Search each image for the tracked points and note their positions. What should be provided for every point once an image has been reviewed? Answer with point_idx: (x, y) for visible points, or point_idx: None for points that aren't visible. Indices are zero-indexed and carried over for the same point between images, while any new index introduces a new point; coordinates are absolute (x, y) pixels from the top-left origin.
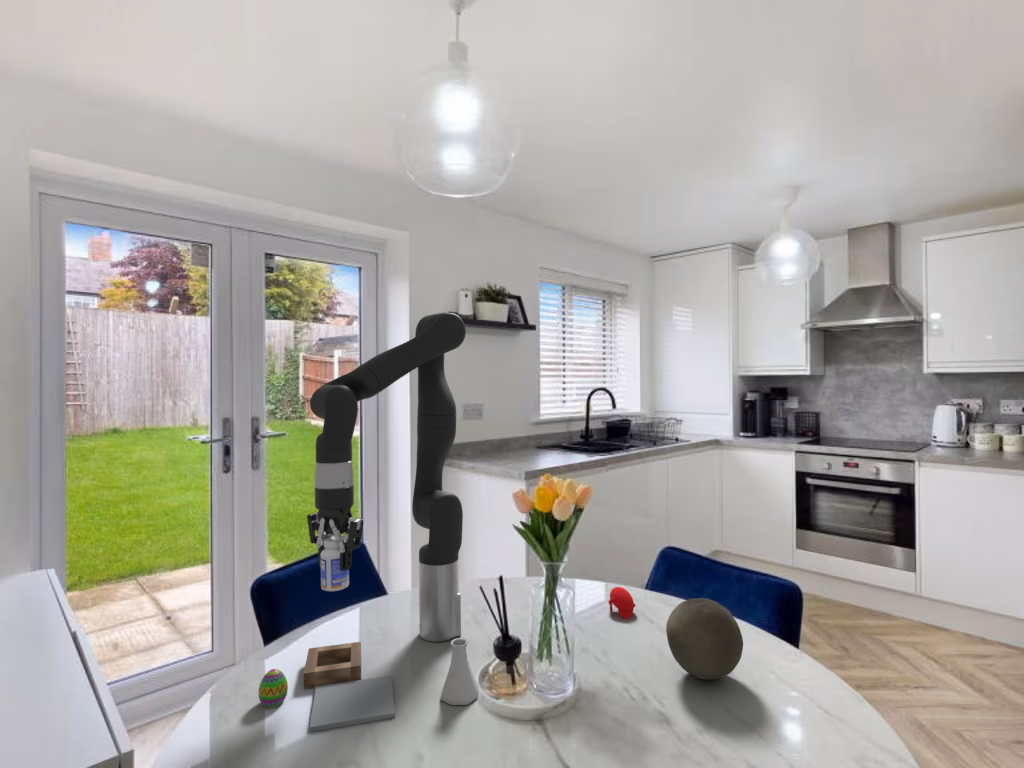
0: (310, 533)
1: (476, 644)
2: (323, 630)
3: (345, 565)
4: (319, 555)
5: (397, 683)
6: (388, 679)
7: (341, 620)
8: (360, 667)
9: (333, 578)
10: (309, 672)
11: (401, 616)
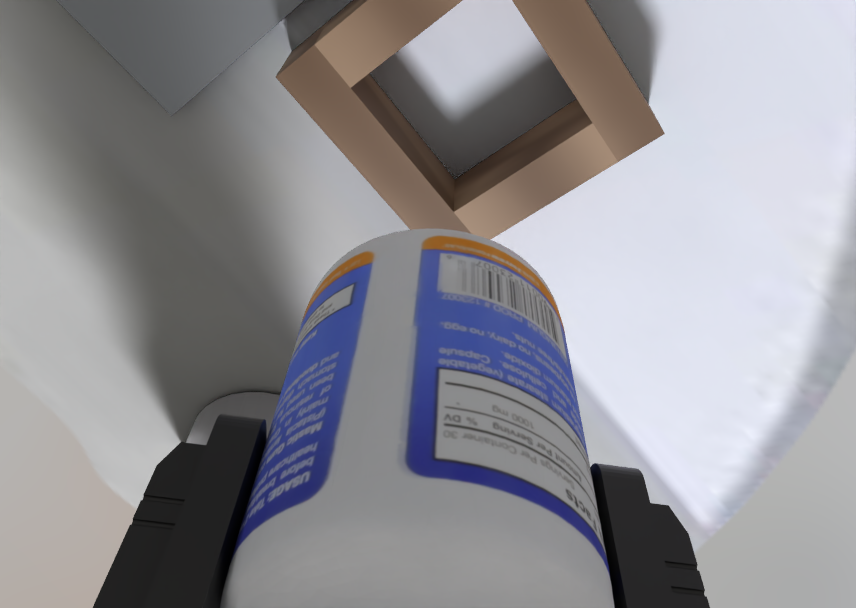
0: None
1: (91, 416)
2: (753, 355)
3: (173, 472)
4: (662, 582)
5: (129, 90)
6: (154, 81)
7: (719, 435)
8: (279, 71)
9: (340, 321)
10: None
11: None
